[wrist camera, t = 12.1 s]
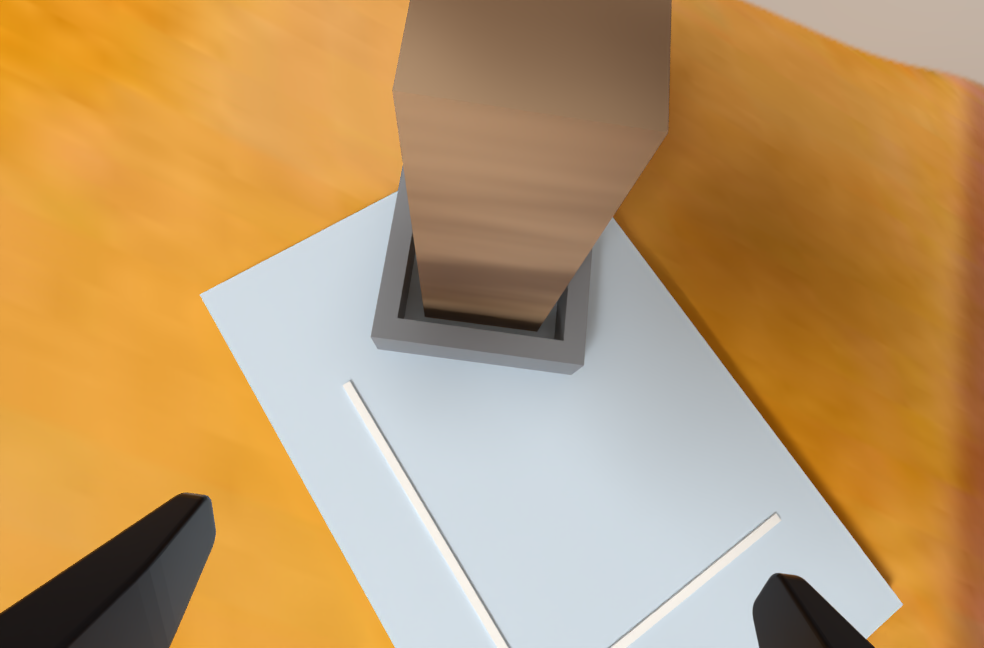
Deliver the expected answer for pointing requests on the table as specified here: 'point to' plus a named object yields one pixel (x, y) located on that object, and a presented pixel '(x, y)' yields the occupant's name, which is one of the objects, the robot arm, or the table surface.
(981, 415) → the table surface
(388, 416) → the baseplate
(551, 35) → the pillar
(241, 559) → the table surface
